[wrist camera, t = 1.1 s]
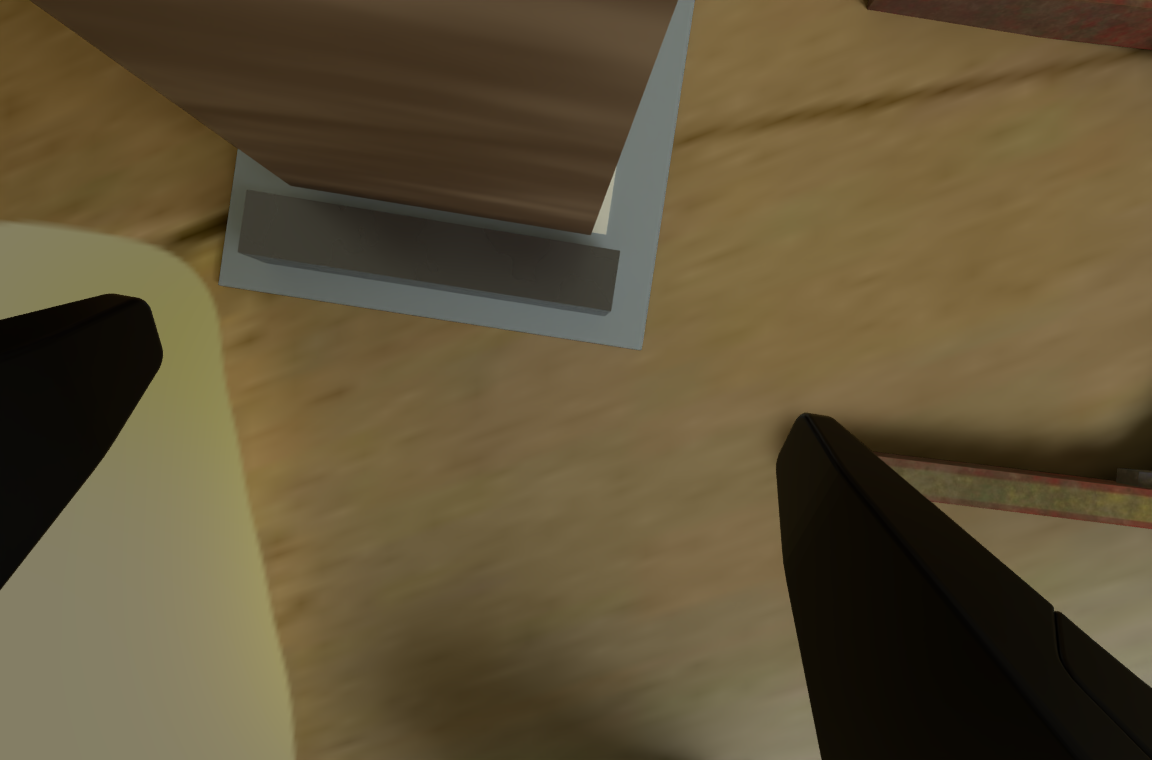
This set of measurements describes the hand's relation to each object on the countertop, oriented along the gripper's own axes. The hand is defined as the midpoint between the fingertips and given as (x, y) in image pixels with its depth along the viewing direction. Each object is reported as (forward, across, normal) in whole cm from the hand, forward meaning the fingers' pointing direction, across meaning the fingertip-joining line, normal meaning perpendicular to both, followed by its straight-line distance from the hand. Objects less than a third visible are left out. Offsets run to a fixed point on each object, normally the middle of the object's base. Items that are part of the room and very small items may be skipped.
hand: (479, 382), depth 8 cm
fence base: (+13, +3, +5) cm, 14 cm away
